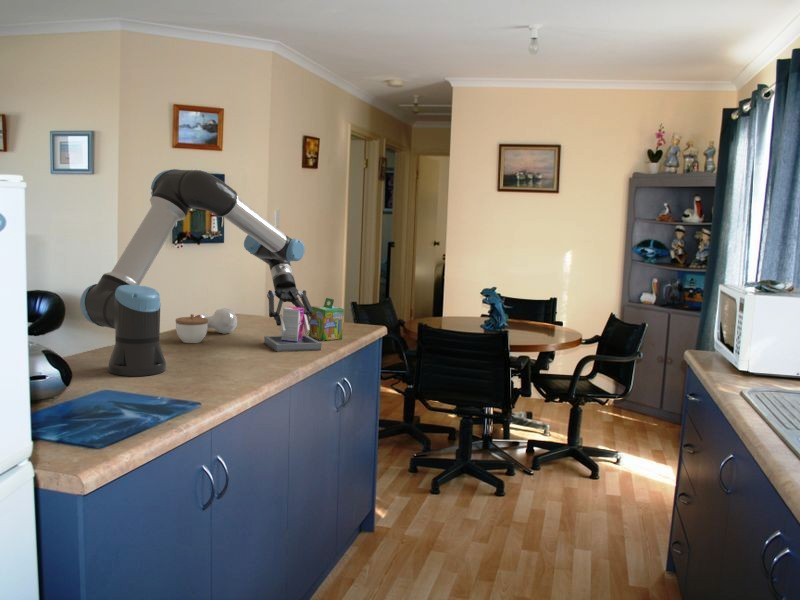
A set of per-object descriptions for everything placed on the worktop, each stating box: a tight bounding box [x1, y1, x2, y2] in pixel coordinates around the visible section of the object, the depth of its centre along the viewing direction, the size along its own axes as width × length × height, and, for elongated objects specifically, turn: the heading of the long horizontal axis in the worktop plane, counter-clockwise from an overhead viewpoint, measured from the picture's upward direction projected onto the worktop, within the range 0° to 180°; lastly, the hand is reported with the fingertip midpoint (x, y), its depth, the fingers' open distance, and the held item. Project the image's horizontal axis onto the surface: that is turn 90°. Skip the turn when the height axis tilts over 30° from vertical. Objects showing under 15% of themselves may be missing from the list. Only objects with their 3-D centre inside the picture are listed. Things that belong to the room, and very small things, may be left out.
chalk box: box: [308, 297, 345, 342], centre depth 268 cm, size 9×9×15 cm
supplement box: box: [281, 306, 304, 343], centre depth 249 cm, size 6×6×12 cm
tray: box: [263, 334, 322, 353], centre depth 250 cm, size 15×15×2 cm
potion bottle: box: [194, 307, 238, 335], centre depth 268 cm, size 9×10×15 cm
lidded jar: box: [175, 313, 209, 344], centre depth 249 cm, size 11×11×9 cm
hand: (295, 332), depth 247 cm, fingers closed on supplement box, 8 cm apart
